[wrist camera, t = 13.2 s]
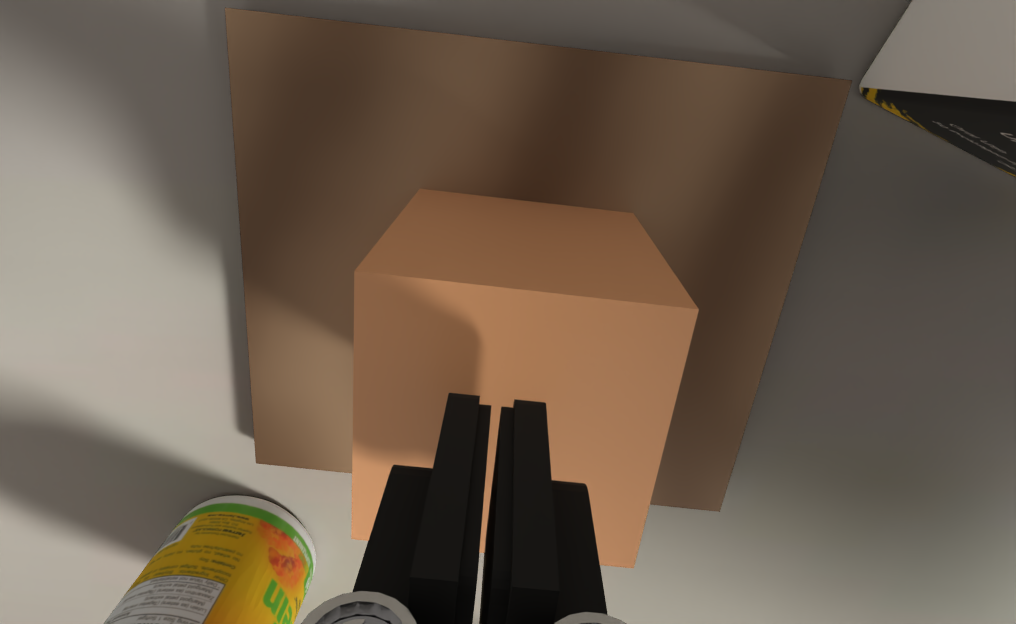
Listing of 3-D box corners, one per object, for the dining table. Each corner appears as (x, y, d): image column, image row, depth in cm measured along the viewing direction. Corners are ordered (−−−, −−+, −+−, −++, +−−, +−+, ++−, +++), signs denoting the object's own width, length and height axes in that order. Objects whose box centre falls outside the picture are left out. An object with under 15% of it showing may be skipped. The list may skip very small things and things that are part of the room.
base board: (833, 79, 16) (852, 80, 16) (711, 492, 22) (719, 511, 21) (242, 10, 16) (225, 7, 15) (267, 445, 22) (255, 463, 21)
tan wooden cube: (633, 213, 17) (698, 309, 11) (597, 397, 19) (633, 568, 13) (419, 188, 17) (354, 271, 10) (409, 377, 19) (351, 538, 13)
